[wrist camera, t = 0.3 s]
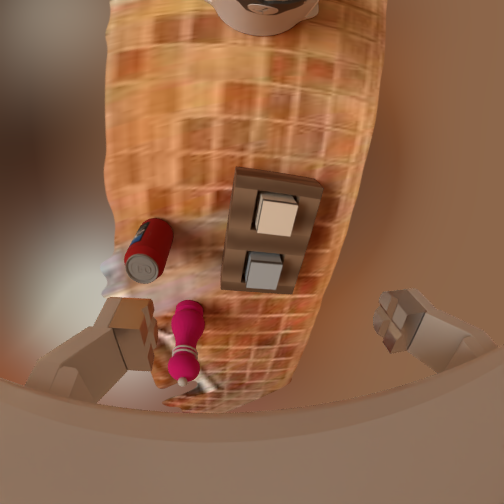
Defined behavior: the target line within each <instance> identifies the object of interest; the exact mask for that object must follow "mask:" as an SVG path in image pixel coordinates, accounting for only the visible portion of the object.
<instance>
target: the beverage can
mask: <svg viewBox="0 0 504 504" xmlns="http://www.w3.org/2000/svg"><path fill="white" fill-rule="evenodd" d="M172 241H173V231H172V229H171V227H170V226H169V224H168V223H166V222H165V221H163V220H161V219H157V218H152V219H148V220H146V221H145V222H143V223H142V225H141V226H140V228H139V230H138V231H137V233H136V235H135V237H134V239H133V241H132V242H131V244H130V246H129V248H128V250H127V252H126V254H125V258H124V263H125V268H126V272H127V274H128V275H129V277H130V278H131V279H133V280H134V281H136V282H138V283H143V284H147V283H151V282H153V281H154V280H155V279H157V278H158V277H160V276H161V275H162V273H163V271H164V268H165V265H166V261H167V258H168V255H169V251H170V248H171V244H172Z"/></svg>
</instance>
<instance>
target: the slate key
mask: <svg viewBox="0 0 504 504" xmlns="http://www.w3.org/2000/svg"><path fill="white" fill-rule="evenodd" d="M282 266H283V264H282V262H281V258H280V255H279V254H277V253H266V252H256V251H248V255H247V261H246V266H245V280H246V288H257V289H272V290H276V288H277V284H278V280H279V277H280V273H281V270H282Z"/></svg>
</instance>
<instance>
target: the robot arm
mask: <svg viewBox="0 0 504 504" xmlns="http://www.w3.org/2000/svg"><path fill="white" fill-rule="evenodd" d="M205 1H206V2H208V3H209V4H211V5H212V6H213V7H214V8H215V10H216V11H217V13H218V15H219V16H220V18H221V19H222V20H223V21H224V22H225V23H226V24H227V25H229V26H230V27H232V28H233V29H235V30H237V31H240V32H242V33H245V34H249V35H256V36H270V35H275V34H279V33H282V32H285V31H287V30H289V29H290V28H292V27H293V26H294V25H296V24H297V23H298V22H300V21H302V20H305V19H309V18H313V17H315V16H316V15H317V14H318V12H319V7H318V2H319V0H205ZM379 303H380V307H379V308H378V309H377V310H376V311H375V314H374V317H373V325H374V328H375V331H376V332H377V334H378V335H380V336H382V337H383V343H384V345H385V346H386V348H387V349H388V351H389V353H396V352H401V351H406V350H408V352H409V353H410V354H412V355H413V356H415V357H416V358H417V359H419V360H420V361H421V362H423V363H424V364H426V365H427V366H429V367H430V368H431V369H433V370H434V371H435V372H437V373H438V374H435V375H432V376H430V377H427V378H424V379H421V380H418V381H415V382H411V383H408V384H405V385H402V386H398V387H395V388H391V389H388V390H384V391H380V392H377V393H372V394H368V395H364V396H360V397H355V398H351V399H346V400H341V401H335V402H330V403H324V404H318V405H311V406H305V407H297V408H289V409H281V410H271V411H257V412H240V413H178V412H160V411H148V410H138V409H129V408H122V407H114V406H108V405H101V404H97V402H98V401H99V400H100V399H101V398H102V397H103V396H104V395H105V394H106V393H107V392H108V391H109V390H110V389H111V388H112V387H113V386H114V384H115V383H117V381H118V380H119V379H120V378H121V377H122V376H123V375H124V374H125V373H126V372H127V370H136V371H137V370H138V371H152V366H153V361H154V357H155V356H154V352H153V349H155V348H156V347H157V342H158V326H157V321H156V319H155V318H154V317H153V313H154V305H153V301H152V300H151V299H141V298H122V297H110V298H108V299H107V300H106V302H105V304H104V306H103V308H102V310H101V312H100V314H99V316H98V318H97V320H96V322H95V324H94V326H93V327H87V328H86V329H84V330H83V331H81V332H80V333H78V334H77V335H75V336H73V337H72V338H70V339H69V340H67V341H66V342H64V343H63V344H61V345H59V346H58V347H56V348H55V349H53V350H52V351H50V352H49V353H47V354H46V355H44V356H43V357H41V358H40V359H38V361H37V363H36V364H35V366H34V368H33V370H32V372H31V374H30V376H29V378H28V380H27V382H26V384H25V386H23V385H20V384H17V383H14V382H11V381H8V380H5V379H3V378H0V504H504V345H502V346H500V347H498V346H497V345H496V344H495V343H494V342H493V340H492V339H491V338H490V337H489V336H488V335H487V334H486V333H485V332H484V330H482V329H480V328H477V327H475V326H473V325H471V324H469V323H467V322H465V321H463V320H461V319H458V318H456V317H454V316H452V315H450V314H448V313H446V312H444V311H441V310H437V309H435V307H434V306H433V305H432V304H431V303H430V302H429V301H428V300H427V299H426V298H425V297H424V296H423V295H422V294H421V293H420V292H419V291H418V290H417V289H415V288H411V289H404V290H397V291H388V292H383V293H382V294H381V296H380V299H379Z"/></svg>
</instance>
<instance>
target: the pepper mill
mask: <svg viewBox="0 0 504 504" xmlns="http://www.w3.org/2000/svg"><path fill="white" fill-rule="evenodd" d="M171 326H172V331H173V334H174V336H175V340H176V346H175V347H174V349H173V351H172V352H173V353H172V358H170V360H169V363H168V370H169V373H170V375H171V376H172V377H173V378H174V379H176V380H178V384H179V385H180V386H186V385H187V382H188V381H192V380H194V379H195V378H196V377H197V376H198V374H199V371H200V365H199V362H198V361H197V359H198V352H197V350H196V344H197V341H198V339H199V338H200V337H201V335H202V333H203V331H204V327H205V321H204V319H203V308H202V306H201V305H200V304H199V303H197V302H195V301H191V300H185V301H182V302H180V303H179V304H178V305H177V306H176V311H175V315H174V316H173V318H172V323H171Z"/></svg>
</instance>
